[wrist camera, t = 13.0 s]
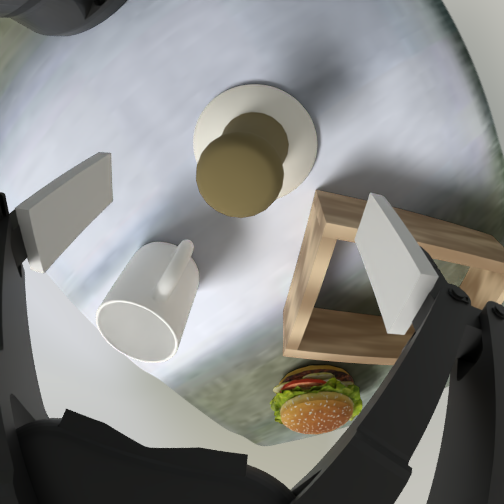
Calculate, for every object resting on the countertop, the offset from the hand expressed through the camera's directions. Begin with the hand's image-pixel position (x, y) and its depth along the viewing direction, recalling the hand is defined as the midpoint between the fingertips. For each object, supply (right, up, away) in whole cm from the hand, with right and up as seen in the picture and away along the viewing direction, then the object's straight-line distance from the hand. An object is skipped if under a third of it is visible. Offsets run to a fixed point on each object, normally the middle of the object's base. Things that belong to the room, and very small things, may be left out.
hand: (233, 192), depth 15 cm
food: (+11, -24, +30) cm, 40 cm away
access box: (+17, -5, +18) cm, 25 cm away
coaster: (+1, +7, +12) cm, 14 cm away
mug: (-8, -4, +19) cm, 21 cm away
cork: (+1, +7, +11) cm, 13 cm away
